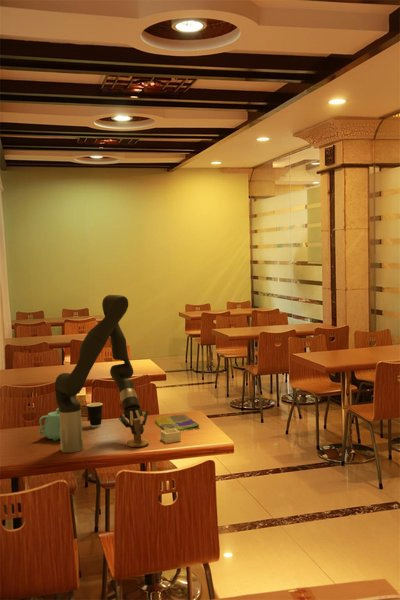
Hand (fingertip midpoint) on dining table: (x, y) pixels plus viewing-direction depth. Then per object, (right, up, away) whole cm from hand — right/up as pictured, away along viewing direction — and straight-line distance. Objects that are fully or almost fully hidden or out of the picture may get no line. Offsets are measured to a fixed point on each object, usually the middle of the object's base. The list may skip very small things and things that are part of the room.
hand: (138, 433), depth 271 cm
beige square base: (+14, -5, +8) cm, 16 cm away
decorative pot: (-38, -7, +23) cm, 45 cm away
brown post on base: (-1, -5, +2) cm, 5 cm away
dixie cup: (-25, -5, +41) cm, 48 cm away
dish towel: (+15, -4, +34) cm, 38 cm away
